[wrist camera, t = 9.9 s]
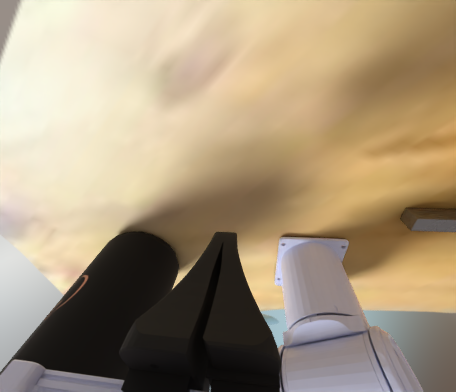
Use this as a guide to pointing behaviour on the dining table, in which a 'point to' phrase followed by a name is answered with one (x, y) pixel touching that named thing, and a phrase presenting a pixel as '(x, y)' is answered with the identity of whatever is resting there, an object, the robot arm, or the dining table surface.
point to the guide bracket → (430, 219)
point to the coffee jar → (103, 308)
